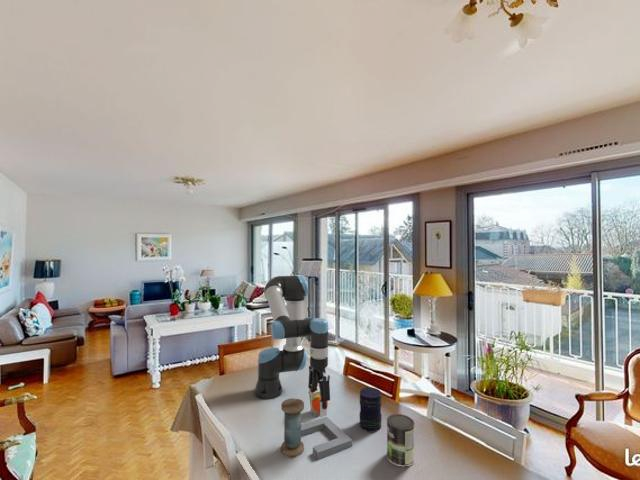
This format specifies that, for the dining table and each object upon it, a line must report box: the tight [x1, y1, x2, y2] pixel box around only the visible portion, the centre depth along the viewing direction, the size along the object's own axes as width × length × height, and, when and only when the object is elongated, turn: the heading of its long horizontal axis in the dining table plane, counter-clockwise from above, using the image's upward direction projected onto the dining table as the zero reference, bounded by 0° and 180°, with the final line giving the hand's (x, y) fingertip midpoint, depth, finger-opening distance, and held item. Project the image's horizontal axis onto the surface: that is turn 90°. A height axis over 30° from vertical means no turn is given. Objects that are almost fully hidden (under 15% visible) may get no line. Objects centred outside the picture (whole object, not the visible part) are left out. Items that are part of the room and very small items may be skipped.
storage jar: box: [359, 386, 383, 433], centre depth 142 cm, size 10×10×15 cm
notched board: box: [301, 416, 353, 460], centre depth 131 cm, size 20×16×2 cm
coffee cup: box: [308, 384, 320, 417], centre depth 152 cm, size 8×8×12 cm
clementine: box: [309, 394, 329, 413], centre depth 131 cm, size 8×7×7 cm
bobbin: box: [280, 397, 305, 458], centre depth 124 cm, size 9×9×18 cm
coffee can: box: [386, 413, 415, 468], centre depth 120 cm, size 10×10×14 cm
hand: (318, 411), depth 131 cm, fingers closed on clementine, 7 cm apart
